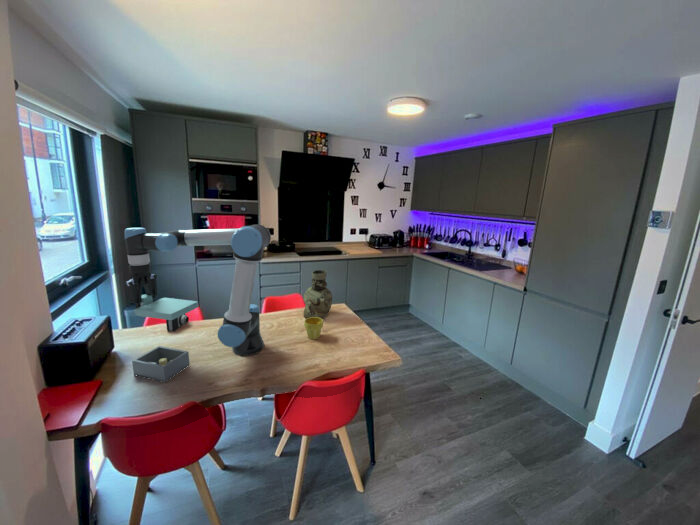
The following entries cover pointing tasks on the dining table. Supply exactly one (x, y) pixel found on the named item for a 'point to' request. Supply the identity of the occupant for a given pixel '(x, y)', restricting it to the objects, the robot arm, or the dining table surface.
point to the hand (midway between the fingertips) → (146, 313)
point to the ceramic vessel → (317, 297)
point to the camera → (176, 322)
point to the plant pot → (313, 327)
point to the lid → (164, 307)
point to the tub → (160, 363)
